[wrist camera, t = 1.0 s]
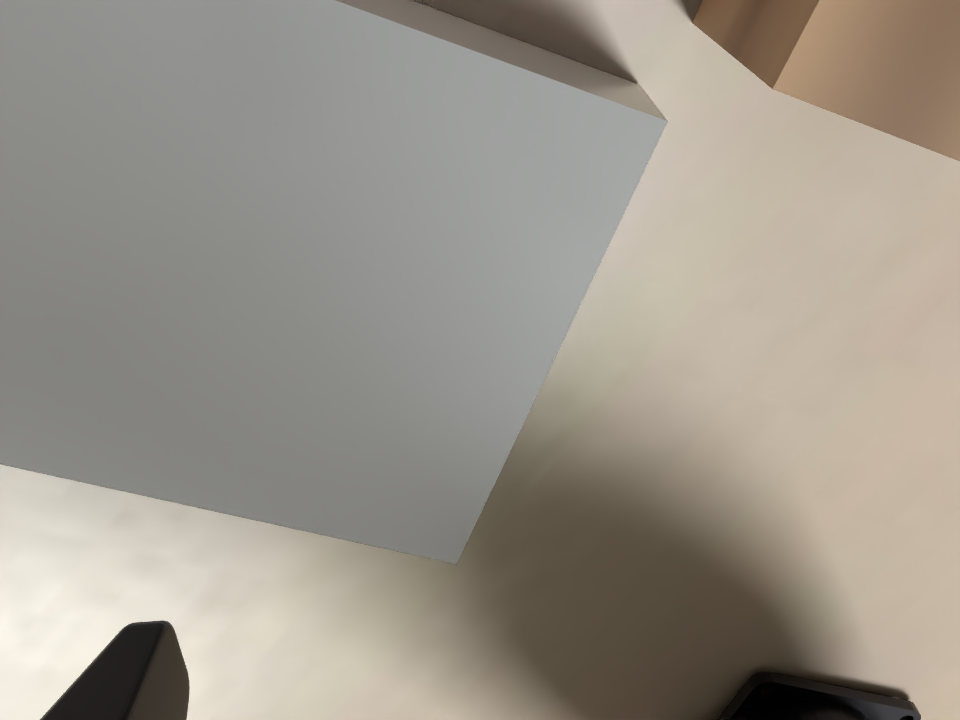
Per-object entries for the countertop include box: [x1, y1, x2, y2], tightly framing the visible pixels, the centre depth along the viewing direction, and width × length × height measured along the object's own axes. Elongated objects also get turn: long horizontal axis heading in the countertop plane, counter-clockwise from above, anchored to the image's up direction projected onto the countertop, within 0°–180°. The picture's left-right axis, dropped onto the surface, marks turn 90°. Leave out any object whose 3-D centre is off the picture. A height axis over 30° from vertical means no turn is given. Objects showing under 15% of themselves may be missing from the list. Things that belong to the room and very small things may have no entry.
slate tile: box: [0, 0, 668, 564], centre depth 20 cm, size 12×12×2 cm
